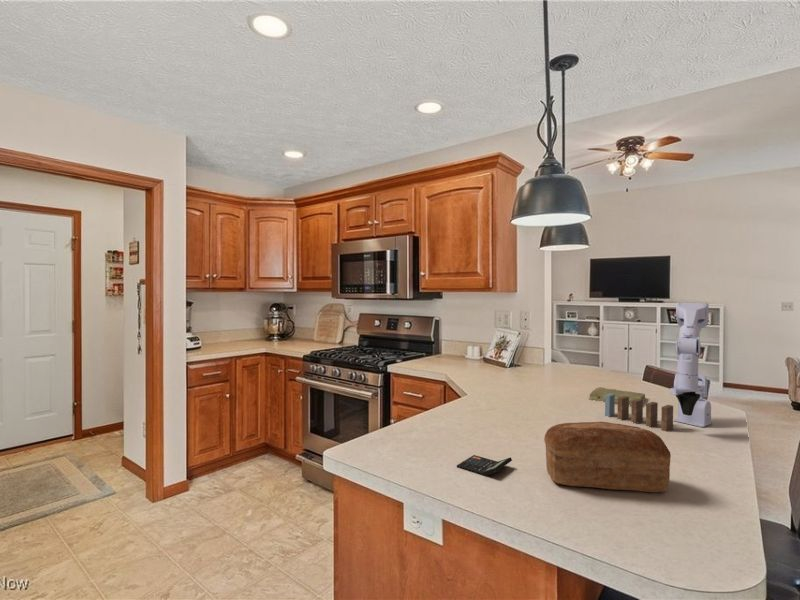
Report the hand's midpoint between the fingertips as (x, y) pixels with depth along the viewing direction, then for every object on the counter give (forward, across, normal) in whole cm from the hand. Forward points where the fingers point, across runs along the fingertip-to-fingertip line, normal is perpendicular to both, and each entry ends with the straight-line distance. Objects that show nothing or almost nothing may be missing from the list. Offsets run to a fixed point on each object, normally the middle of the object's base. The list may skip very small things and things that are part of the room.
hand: (687, 414), depth 138 cm
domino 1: (+6, +6, -26) cm, 27 cm away
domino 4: (+7, +2, -11) cm, 13 cm away
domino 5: (+7, +1, -6) cm, 9 cm away
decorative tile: (+7, -17, -42) cm, 46 cm away
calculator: (+7, +77, -3) cm, 78 cm away
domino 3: (+7, +3, -16) cm, 17 cm away
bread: (+7, +55, +15) cm, 57 cm away
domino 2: (+6, +4, -20) cm, 22 cm away
